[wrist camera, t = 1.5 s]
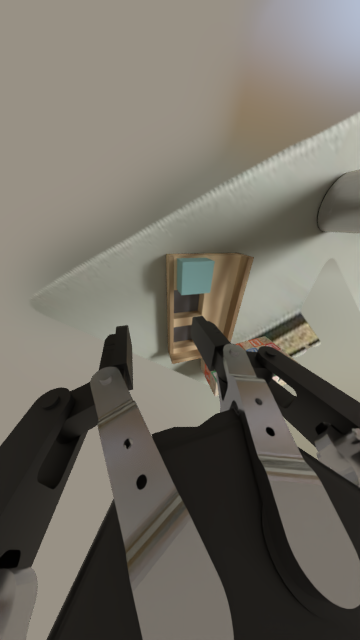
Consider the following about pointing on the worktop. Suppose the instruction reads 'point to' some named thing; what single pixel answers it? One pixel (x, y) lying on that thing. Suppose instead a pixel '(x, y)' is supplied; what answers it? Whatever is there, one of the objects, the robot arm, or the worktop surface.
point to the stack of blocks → (247, 346)
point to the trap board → (205, 301)
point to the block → (194, 275)
